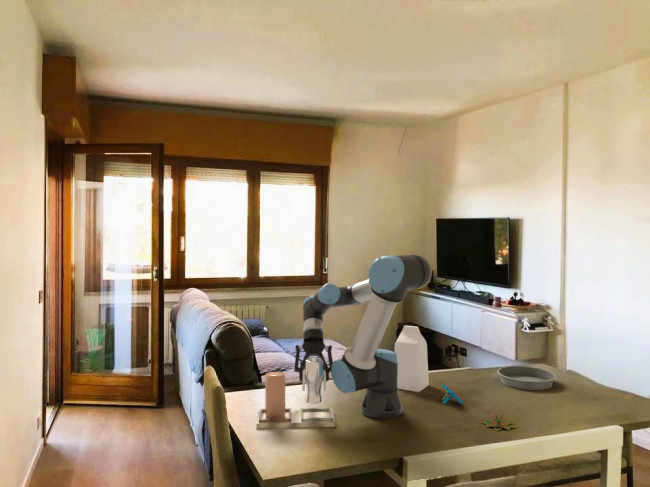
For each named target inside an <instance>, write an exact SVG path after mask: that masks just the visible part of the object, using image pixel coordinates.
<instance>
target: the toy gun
mask: <svg viewBox="0 0 650 487" xmlns="http://www.w3.org/2000/svg"><path fill="white" fill-rule="evenodd" d="M441 386H442V387H443V389H444V390H446V391H445V392H446V393H445V395H444V396H443V398H442V399H441V400H442V403H443V404H444V405H446V403H447V402H449V400H452V398H454V399H455V400H456V401H457V402H458V403H459V404H460V405H463V403H464V402H463V401H462V400H461V399H460V398H459V397H458V396H457V394H456V392H455V391H452V390H451V389H450V388H449V387H448V386H447V385H446V384H444V383H443V384H442V385H441Z"/></svg>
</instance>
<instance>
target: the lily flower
mask: <svg viewBox="0 0 650 487" xmlns="http://www.w3.org/2000/svg"><path fill="white" fill-rule="evenodd" d="M493 415H494V416H491V418H492V419H488V421H481V422H480V423H482V424H484V425H485V428H489V427H492V429H494V430H495V431H496V432H497V431H501V430H504V429H505V430H507V431H510V432H511V429H513V428H514V429H515V428H516V429H518V426H515V425H513V424H511V422H509V421H507V420H505V418H504V417H505V416H507V415H506V414H503V415H501V416H499V415H498V414H497V412H495V413H493ZM495 418H496V419H495ZM500 425H502V426H501V427H499V426H500ZM497 427H498V428H497Z"/></svg>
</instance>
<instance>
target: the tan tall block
mask: <svg viewBox="0 0 650 487" xmlns="http://www.w3.org/2000/svg"><path fill="white" fill-rule="evenodd" d="M264 382H265V385H264V386H265V398H264V400H265V405H264V406H265V407H264V409H265V417H266V419H284V418H285V409H286V373H284V372H280V371H271V372H267V373H265V380H264Z"/></svg>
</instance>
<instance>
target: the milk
mask: <svg viewBox="0 0 650 487" xmlns="http://www.w3.org/2000/svg"><path fill="white" fill-rule="evenodd" d="M393 350H394V351H393V352H395V353H396V354H397V362H398V375H397V390H404V391H411V392H416V393H420V392H422V391H423V390H424V389H425V388H427V387H428V386H429V385H430V384H429V383H430V381H429V363H428V360H429V359H428V344H427V341H426V339H425V338H424V336H423V335H422V333H421V331H420V328H419V326H414V325H403V328H402V330H401V332H400V333H399V335H398V338H397V339H396V341H395V343H394V349H393Z"/></svg>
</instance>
